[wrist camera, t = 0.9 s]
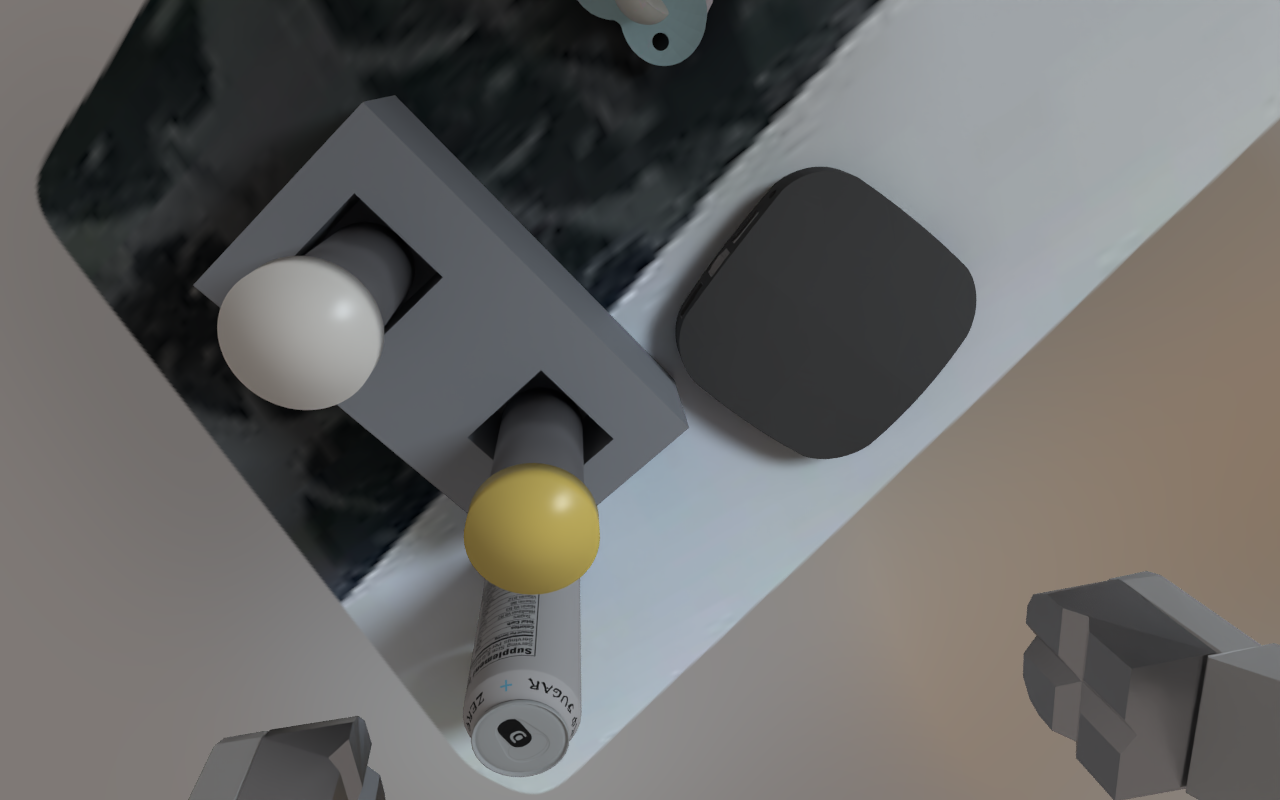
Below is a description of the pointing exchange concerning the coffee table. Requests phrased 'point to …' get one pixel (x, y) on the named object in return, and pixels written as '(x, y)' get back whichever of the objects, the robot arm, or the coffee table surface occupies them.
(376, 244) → the knob white
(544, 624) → the energy drink can
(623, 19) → the pacifier
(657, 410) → the mount
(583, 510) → the knob mustard
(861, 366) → the media streaming box
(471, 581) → the coffee table surface
